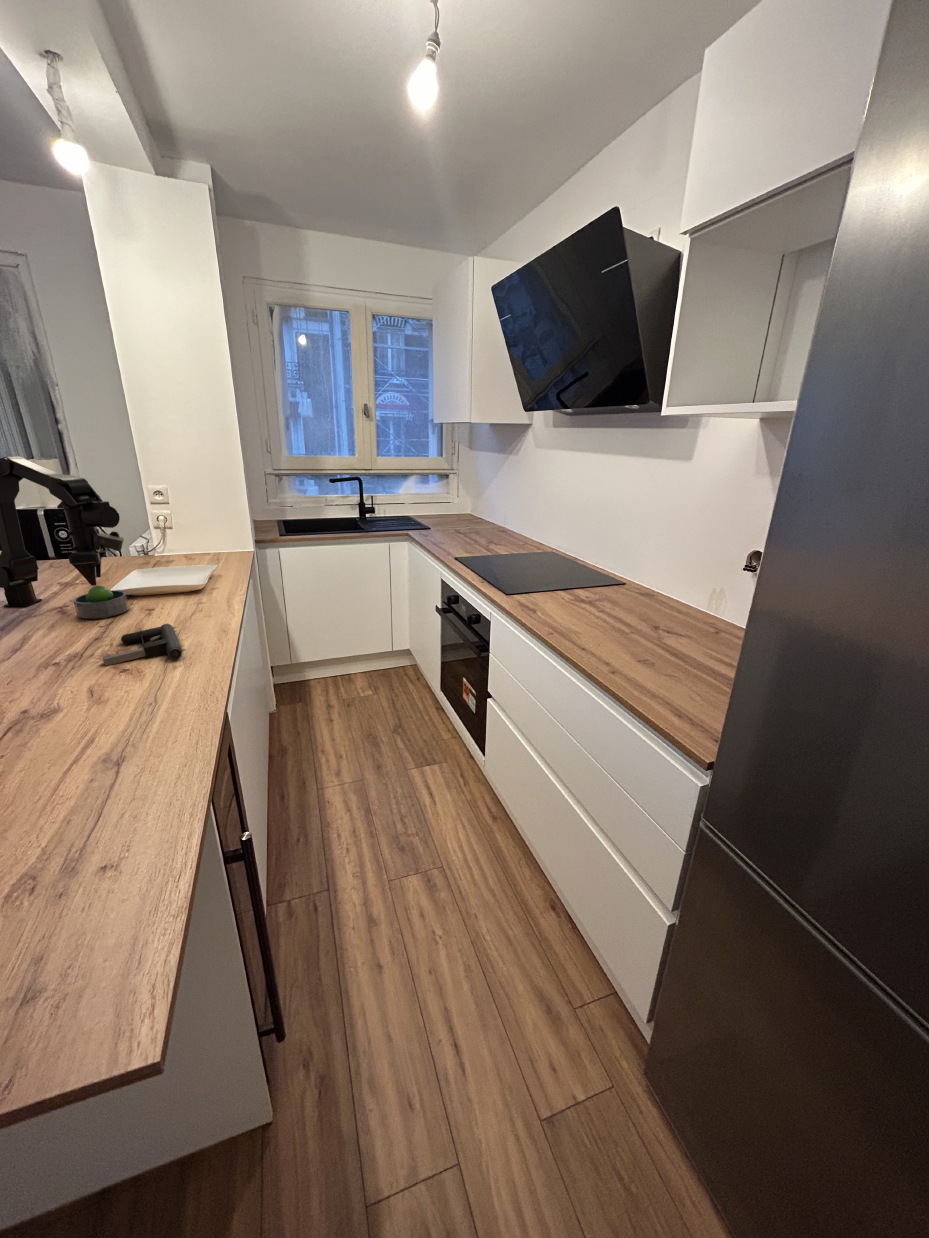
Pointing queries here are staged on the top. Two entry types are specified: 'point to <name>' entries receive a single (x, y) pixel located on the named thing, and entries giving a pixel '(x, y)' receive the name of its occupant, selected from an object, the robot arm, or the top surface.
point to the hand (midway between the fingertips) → (96, 581)
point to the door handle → (149, 645)
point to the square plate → (165, 580)
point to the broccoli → (99, 594)
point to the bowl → (101, 606)
